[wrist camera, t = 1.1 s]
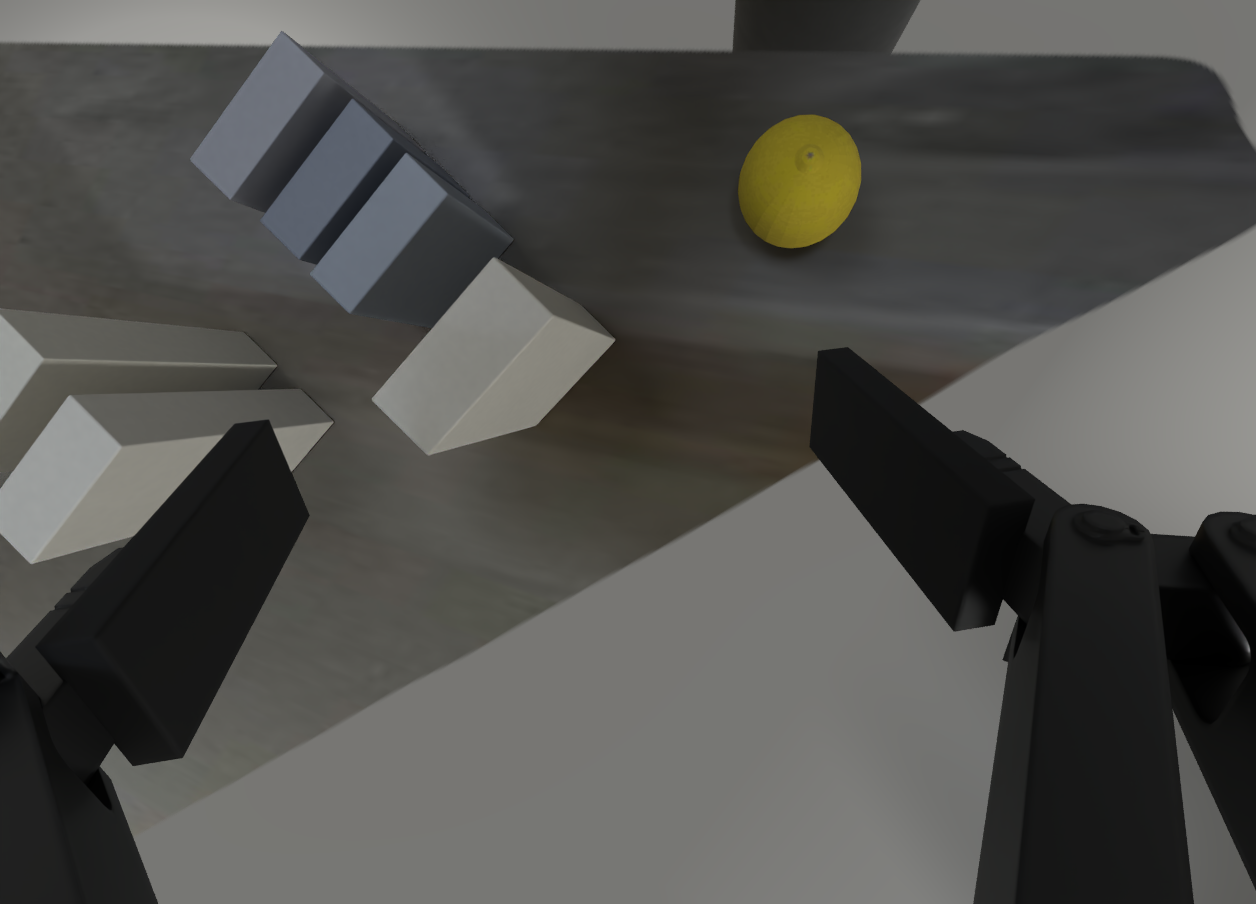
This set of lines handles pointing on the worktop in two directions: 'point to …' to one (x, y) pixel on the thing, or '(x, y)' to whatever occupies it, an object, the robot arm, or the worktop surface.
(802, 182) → the lemon
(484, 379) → the cream tall block
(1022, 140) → the worktop surface
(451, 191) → the grey books
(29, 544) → the cream book row
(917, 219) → the worktop surface
